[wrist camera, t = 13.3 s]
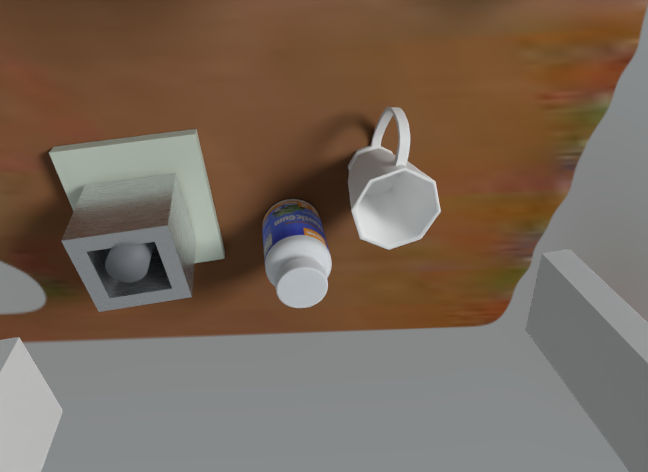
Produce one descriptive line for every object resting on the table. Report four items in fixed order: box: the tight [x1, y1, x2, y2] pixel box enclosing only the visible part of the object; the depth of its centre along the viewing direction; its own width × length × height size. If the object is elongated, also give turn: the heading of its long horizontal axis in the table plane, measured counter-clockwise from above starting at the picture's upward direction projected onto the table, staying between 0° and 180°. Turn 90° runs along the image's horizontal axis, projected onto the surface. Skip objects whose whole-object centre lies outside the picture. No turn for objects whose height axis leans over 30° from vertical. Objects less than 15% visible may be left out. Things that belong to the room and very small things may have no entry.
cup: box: [347, 107, 441, 250], centre depth 38 cm, size 7×10×8 cm
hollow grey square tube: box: [61, 173, 196, 312], centre depth 37 cm, size 7×7×7 cm
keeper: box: [49, 129, 225, 283], centre depth 37 cm, size 12×11×9 cm
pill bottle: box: [262, 199, 332, 308], centre depth 40 cm, size 5×5×10 cm
